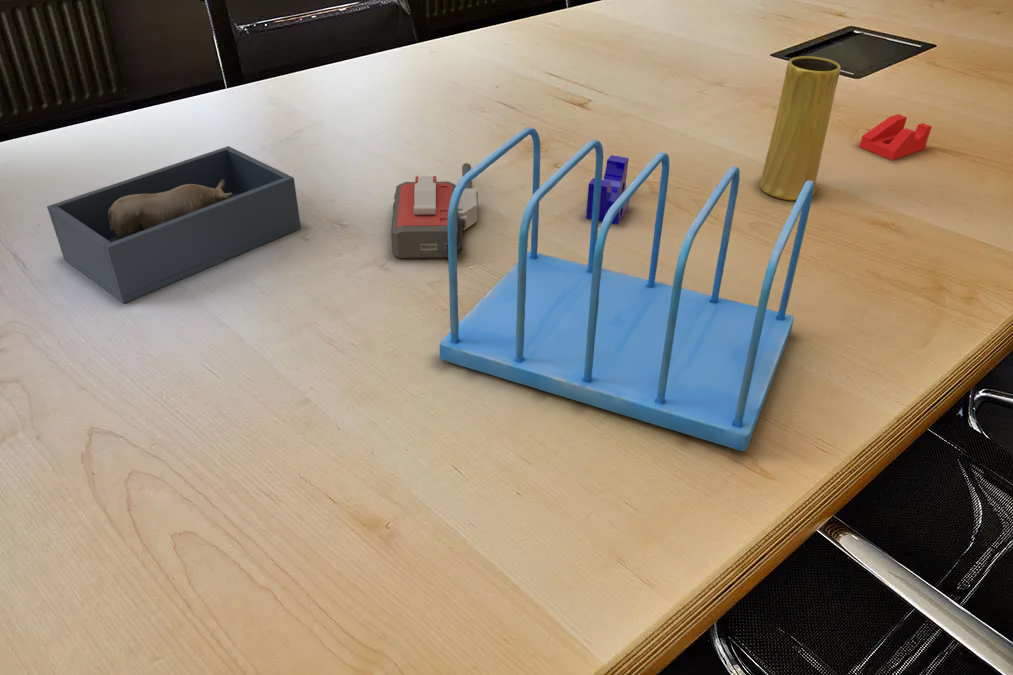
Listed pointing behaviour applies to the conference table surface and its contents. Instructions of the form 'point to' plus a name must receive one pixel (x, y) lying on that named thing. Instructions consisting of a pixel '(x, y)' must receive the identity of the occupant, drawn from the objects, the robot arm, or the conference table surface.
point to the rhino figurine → (160, 207)
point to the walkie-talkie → (429, 216)
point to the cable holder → (610, 188)
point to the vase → (800, 126)
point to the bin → (177, 223)
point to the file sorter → (627, 319)
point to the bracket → (895, 138)
